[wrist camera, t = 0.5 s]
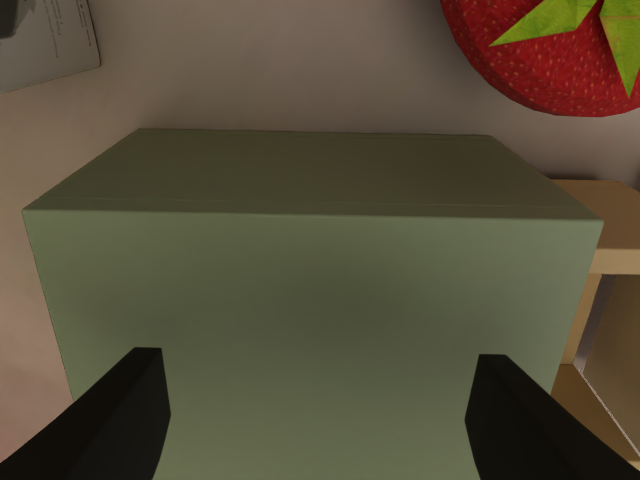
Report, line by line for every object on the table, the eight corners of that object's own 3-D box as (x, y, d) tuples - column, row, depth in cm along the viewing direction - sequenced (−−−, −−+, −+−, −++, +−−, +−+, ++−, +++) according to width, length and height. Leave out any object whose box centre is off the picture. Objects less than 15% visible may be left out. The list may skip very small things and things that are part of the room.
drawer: (787, 163, 18) (1002, 235, 12) (687, 374, 23) (810, 497, 17) (355, 154, 18) (374, 223, 12) (343, 370, 22) (352, 493, 17)
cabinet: (491, 135, 18) (606, 220, 11) (448, 368, 24) (508, 530, 16) (137, 127, 18) (19, 209, 11) (172, 365, 23) (107, 528, 16)
